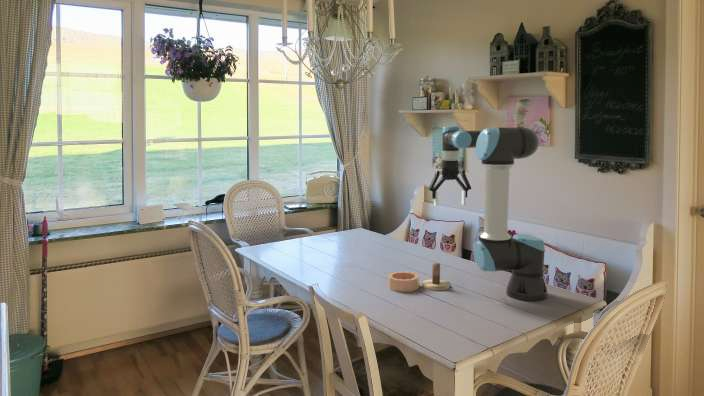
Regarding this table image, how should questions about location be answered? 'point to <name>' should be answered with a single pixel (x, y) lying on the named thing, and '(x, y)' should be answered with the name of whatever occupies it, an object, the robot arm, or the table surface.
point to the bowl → (403, 281)
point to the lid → (436, 280)
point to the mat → (435, 290)
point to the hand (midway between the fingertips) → (449, 205)
